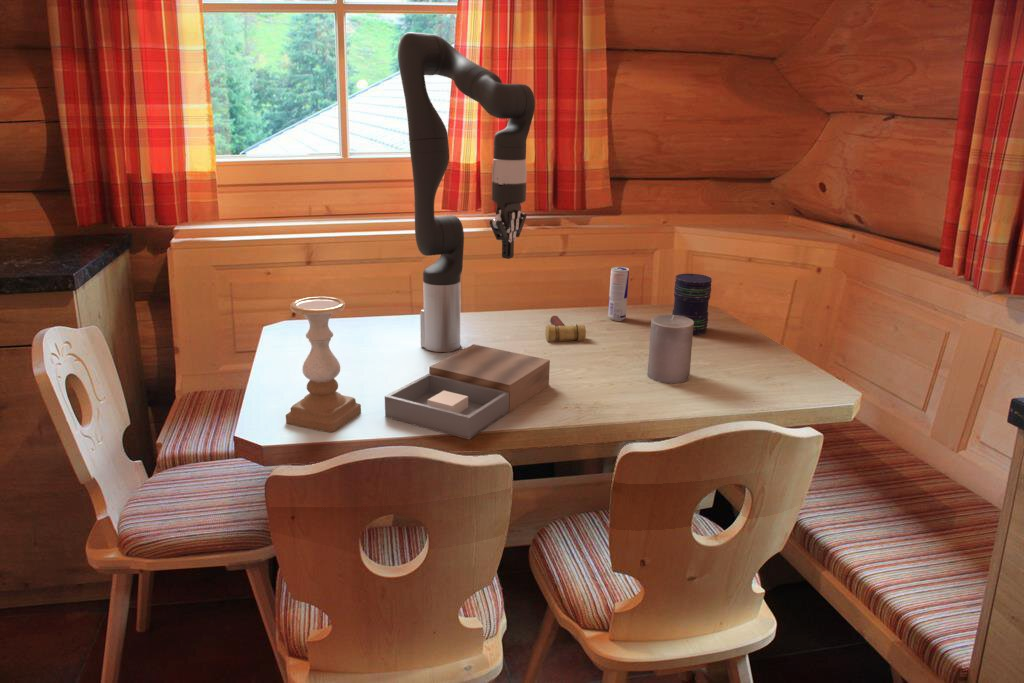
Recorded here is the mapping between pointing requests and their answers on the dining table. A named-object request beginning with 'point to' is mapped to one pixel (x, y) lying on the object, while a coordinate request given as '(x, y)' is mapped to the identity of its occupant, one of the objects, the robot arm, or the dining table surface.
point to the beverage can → (618, 293)
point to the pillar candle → (670, 348)
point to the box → (466, 424)
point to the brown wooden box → (497, 371)
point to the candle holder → (321, 371)
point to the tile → (449, 401)
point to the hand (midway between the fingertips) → (507, 257)
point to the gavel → (564, 331)
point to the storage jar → (693, 299)
